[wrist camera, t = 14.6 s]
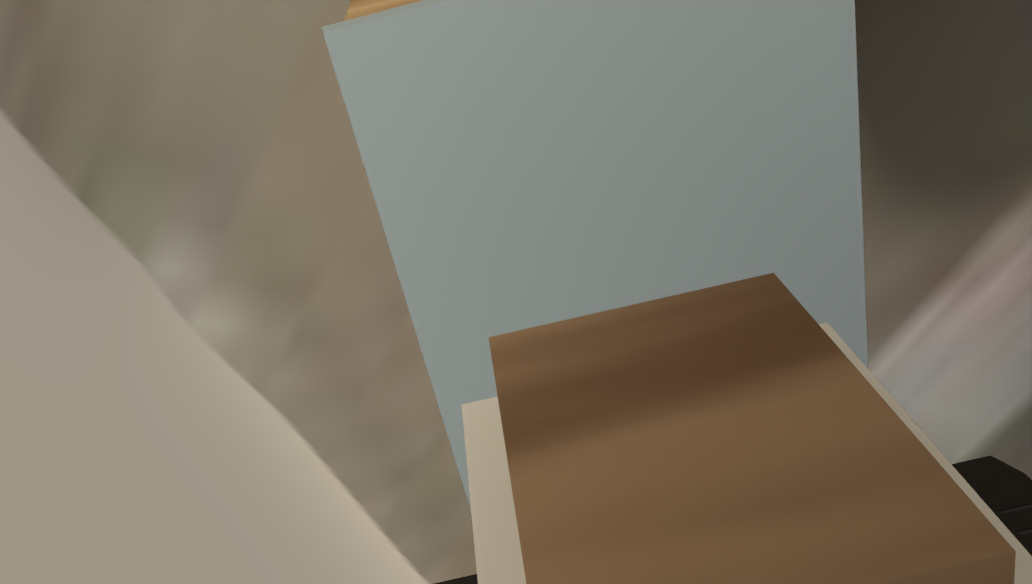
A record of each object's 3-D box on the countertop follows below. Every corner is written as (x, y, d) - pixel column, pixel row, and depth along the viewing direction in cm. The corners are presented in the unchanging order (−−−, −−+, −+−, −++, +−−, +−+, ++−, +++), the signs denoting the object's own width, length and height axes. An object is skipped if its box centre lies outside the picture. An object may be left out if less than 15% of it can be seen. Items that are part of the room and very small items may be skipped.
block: (488, 337, 16) (538, 659, 9) (773, 272, 16) (1015, 551, 9) (542, 556, 18) (612, 938, 12) (792, 500, 18) (998, 850, 12)
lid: (321, 27, 20) (323, 32, 20) (832, -108, 22) (850, -107, 21) (488, 564, 28) (493, 583, 27) (857, 442, 29) (871, 456, 29)
